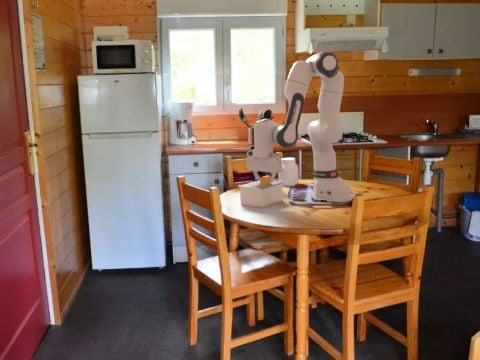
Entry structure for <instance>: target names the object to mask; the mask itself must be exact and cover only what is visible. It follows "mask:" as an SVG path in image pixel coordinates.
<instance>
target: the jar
mask: <svg viewBox="0 0 480 360" xmlns="http://www.w3.org/2000/svg"><path fill="white" fill-rule="evenodd" d="M281 162H282V172H281V173H278V181H283V184H282V187H293V186H295V185H298V184H300V183H299V182H300V180H299V165H298V164H297V163H296V158H295V157H283V158H282V157H281Z"/></svg>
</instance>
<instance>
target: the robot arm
mask: <svg viewBox="0 0 480 360" xmlns="http://www.w3.org/2000/svg"><path fill="white" fill-rule="evenodd" d="M314 77H320V79H321V80H320V82H321V86H320V91H319V96H318V101H317V109H318V116H319V118H318V119H315V120H313V121H311V122H309V124H308V125H307V127H306V134H307V135H308V137H309V139H310V144H311V148H312V153H313V154H312V155H313V170H312V176H313V187H312V193H311V196H312V197H311V198H313V200H314V201H321V200H324V201H325V200H326V201H325V202H333V203H334V202H335V203H345V202H346V203H347V202H350V201H353V200H354V199H353V197H354V196H355V195H356V194H353V193H352V189H351V186H350V184H349V183H347V181H345V180H344V179H343V178H341V176H340V174H341V172H342V171H341V170H338V169H337V154H336V151H335V150H334V147H333V144H334V143H337V142H339V141H340V140H341V139H342V137H343V133H344V132H343V127H342V126H341V116H340V114H341V112H340V111H341V106H342V105H341V104H342V98H343V94H344V85H345V84H344V83H345V76H344V74H343V72H341V71H340V67H339V61H338V58H337V56H336V55H335V54H334V53H333V52H331V51H324V52H323V51H321V52H317V53H315V54H311V55H310V56H308V57H307V58H306V59H305V60H297V61H295V62H294V63H293V64H292V67H291V68H290V71H289V73H288V75H287V79H286V81H285V84H284V89H283V94H284V97H285V98H286V101H287V102H288V110H287V113H286V114H287V115H286V117H285V118H286V119H285V121H284V123H283V124H279V123H277V122H274V121H273V120H271V119H270V118H262V119H259V120H257V121H256V122H255V124H254V129H253V131H254V133H253V134H254V135H253V136H254V137H253V139H254V143H255V144H254V145H255V149H254V150H247V152H246V156H247V157H246V168H247V170H248V171H252V170H253V173H254V175H255V179H257V180H258V179H260V178H259V177H260V176H258V173H257V172H258V171H262V172H268V173H270V174H271V175H270V176H271V178H270V181H271V182H273V181H274V180H275V177H276V176H277V174H279V173H281V172H282V162H281V159H282V157H281V155H280V154H279V153H274V146H273V145H275V144H276V145H278V146H280V147H283V148H284V149H285V148H286V149H290V148H292V147H294V146H295V145H296V144H297V142H298V140H299V124H300V120H301V116H302V113H303V109H304V105H305V104H304V103H305V100H306V99H305V98H306V96H307V92H308V89H309V86H310V83H311V80H312V78H314ZM352 199H353V200H352ZM324 201H323V202H324Z"/></svg>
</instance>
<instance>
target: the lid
mask: <svg viewBox="0 0 480 360" xmlns="http://www.w3.org/2000/svg"><path fill="white" fill-rule="evenodd" d="M271 177H272V175H269V174H268V175H267V176H264V177H260V180H258V181H254V182H253V181H251V182H248V183H245V184H242V185H243V186H250V187H257V188H261V190H263V189H266V188H269V187H272V186H276V185H279V184H282V182H275V181H273V182H271V181H270V178H271Z"/></svg>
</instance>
